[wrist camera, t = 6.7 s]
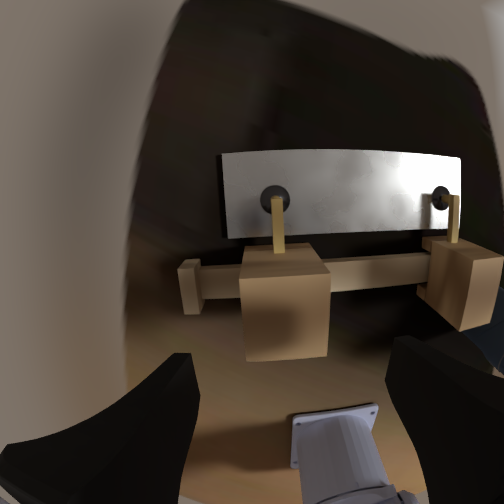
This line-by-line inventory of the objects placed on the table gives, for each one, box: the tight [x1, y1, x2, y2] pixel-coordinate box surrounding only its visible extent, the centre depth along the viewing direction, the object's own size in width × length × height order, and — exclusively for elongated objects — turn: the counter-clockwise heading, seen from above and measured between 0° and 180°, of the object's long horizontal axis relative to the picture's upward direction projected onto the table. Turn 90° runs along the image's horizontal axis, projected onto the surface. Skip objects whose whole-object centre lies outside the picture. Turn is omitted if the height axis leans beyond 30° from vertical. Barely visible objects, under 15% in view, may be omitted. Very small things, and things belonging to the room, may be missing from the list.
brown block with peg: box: [239, 195, 331, 362], centre depth 15 cm, size 8×4×6 cm, turn 4°
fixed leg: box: [416, 194, 504, 332], centre depth 15 cm, size 8×3×6 cm, turn 4°
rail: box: [177, 252, 431, 314], centre depth 18 cm, size 3×22×2 cm, turn 94°
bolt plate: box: [222, 149, 461, 239], centre depth 17 cm, size 5×17×1 cm, turn 94°
